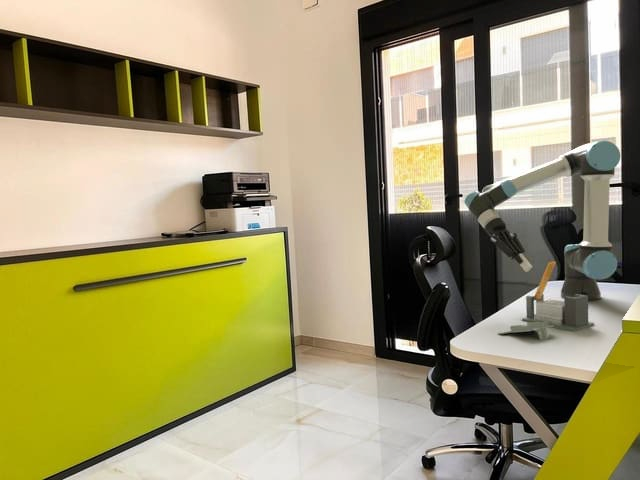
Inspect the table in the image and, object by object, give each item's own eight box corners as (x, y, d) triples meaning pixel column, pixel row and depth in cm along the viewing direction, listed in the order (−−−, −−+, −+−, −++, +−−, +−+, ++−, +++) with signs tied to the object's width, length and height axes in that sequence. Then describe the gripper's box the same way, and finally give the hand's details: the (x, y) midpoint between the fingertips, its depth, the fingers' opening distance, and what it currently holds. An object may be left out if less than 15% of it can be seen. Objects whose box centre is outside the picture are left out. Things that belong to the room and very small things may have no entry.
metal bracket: (560, 318, 154) (525, 325, 148) (564, 336, 153) (529, 344, 147) (526, 322, 167) (493, 328, 161) (530, 338, 166) (497, 346, 160)
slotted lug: (564, 325, 163) (564, 296, 162) (577, 321, 166) (576, 294, 166) (575, 327, 160) (575, 298, 159) (588, 323, 163) (588, 295, 162)
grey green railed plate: (522, 320, 175) (522, 318, 175) (543, 315, 181) (543, 312, 181) (572, 331, 158) (572, 329, 158) (594, 325, 164) (594, 322, 164)
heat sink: (524, 317, 176) (524, 296, 175) (541, 313, 180) (540, 293, 179) (561, 325, 163) (560, 302, 162) (577, 320, 167) (577, 298, 167)
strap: (535, 300, 175) (532, 298, 176) (540, 299, 176) (537, 297, 177) (551, 263, 168) (547, 261, 169) (556, 262, 169) (553, 260, 170)
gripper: (498, 228, 196) (534, 273, 182) (475, 231, 189) (511, 277, 176) (509, 215, 190) (547, 260, 177) (485, 217, 184) (523, 264, 171)
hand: (529, 269), depth 177 cm, fingers closed
